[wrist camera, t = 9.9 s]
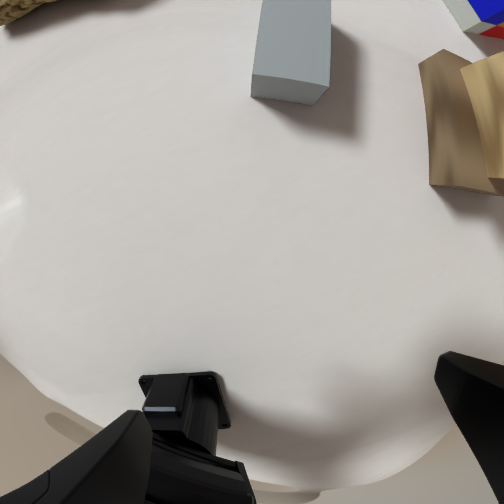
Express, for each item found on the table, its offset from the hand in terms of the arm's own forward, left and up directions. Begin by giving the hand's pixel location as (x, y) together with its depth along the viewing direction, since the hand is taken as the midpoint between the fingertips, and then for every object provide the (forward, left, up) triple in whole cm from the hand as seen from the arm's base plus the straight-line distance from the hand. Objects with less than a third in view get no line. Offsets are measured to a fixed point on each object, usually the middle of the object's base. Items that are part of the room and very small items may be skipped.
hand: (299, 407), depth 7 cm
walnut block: (+9, -18, -12) cm, 23 cm away
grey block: (+15, -4, -12) cm, 20 cm away
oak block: (+9, -18, -8) cm, 22 cm away
